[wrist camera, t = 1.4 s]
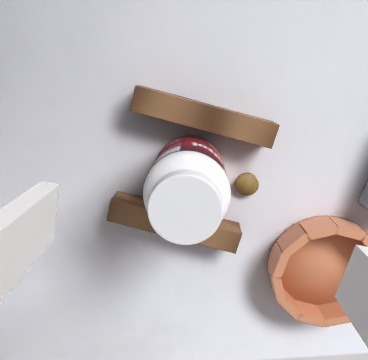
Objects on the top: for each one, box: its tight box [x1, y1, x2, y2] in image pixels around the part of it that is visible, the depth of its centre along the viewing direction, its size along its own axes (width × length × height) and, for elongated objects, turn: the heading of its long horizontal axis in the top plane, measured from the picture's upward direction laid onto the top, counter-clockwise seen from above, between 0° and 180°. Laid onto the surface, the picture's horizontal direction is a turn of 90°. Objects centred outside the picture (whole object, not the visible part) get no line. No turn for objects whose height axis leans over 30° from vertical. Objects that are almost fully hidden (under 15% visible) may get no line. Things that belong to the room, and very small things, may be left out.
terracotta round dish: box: [267, 216, 368, 327], centre depth 32 cm, size 10×10×3 cm
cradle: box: [107, 86, 280, 253], centre depth 30 cm, size 12×12×2 cm
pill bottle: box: [143, 136, 231, 245], centre depth 26 cm, size 6×6×11 cm
